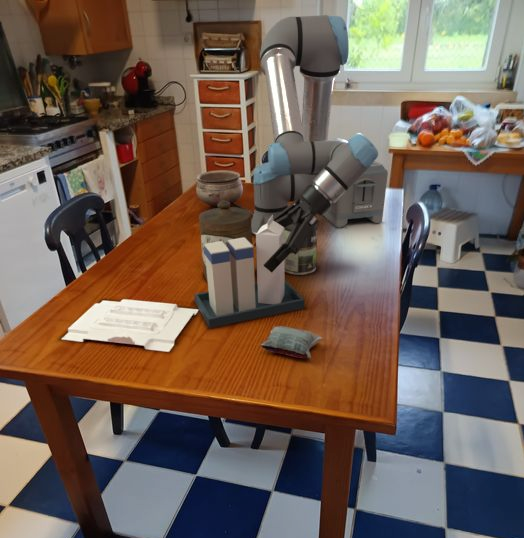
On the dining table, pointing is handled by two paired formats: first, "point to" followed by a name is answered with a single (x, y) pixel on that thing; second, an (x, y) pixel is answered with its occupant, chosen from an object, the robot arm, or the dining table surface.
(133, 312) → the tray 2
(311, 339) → the packaged food
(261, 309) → the tray
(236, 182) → the cooking pot
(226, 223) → the wooden container
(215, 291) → the carton
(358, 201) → the toaster
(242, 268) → the carton
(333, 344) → the dining table surface
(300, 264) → the coffee can
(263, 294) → the milk
